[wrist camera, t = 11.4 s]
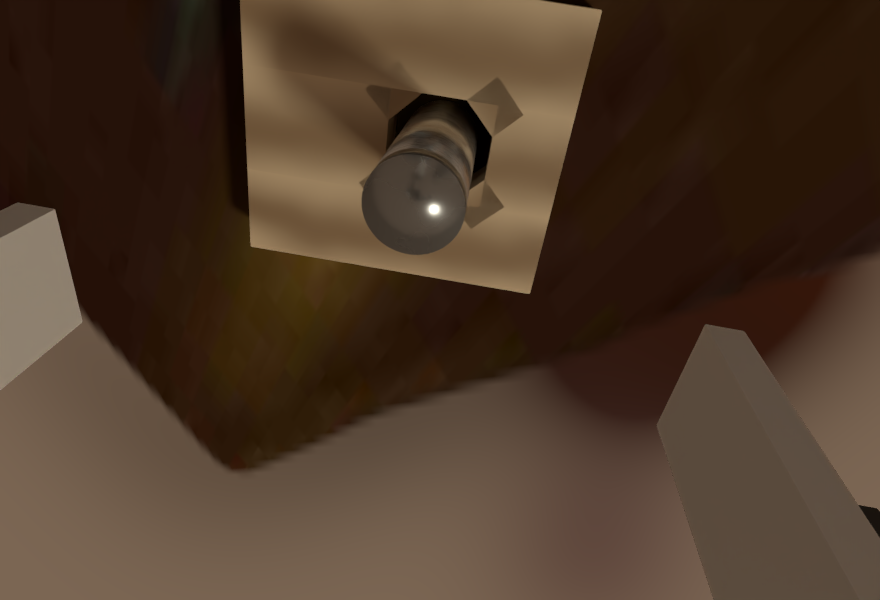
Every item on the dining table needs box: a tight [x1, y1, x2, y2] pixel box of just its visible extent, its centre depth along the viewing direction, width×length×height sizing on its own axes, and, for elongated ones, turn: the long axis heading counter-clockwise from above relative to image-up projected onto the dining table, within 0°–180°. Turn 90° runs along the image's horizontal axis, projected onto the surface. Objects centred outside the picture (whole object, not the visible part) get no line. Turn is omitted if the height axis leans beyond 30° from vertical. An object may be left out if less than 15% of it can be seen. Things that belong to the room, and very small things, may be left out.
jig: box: [240, 0, 602, 294], centre depth 32 cm, size 16×18×3 cm
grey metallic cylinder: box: [362, 100, 478, 255], centre depth 28 cm, size 4×4×12 cm
